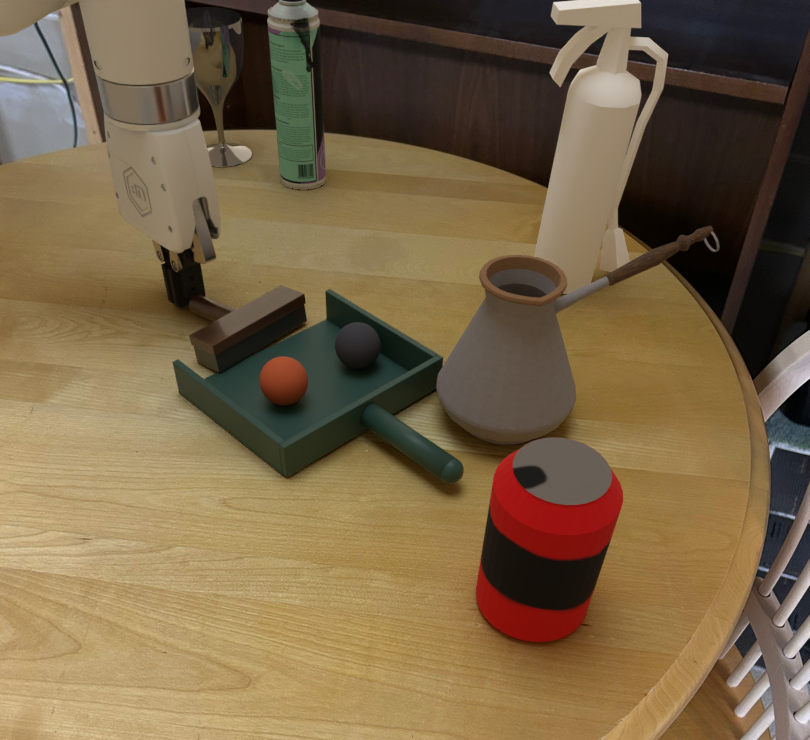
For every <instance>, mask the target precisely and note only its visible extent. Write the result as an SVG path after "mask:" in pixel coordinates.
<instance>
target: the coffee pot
mask: <svg viewBox="0 0 810 740" xmlns="http://www.w3.org/2000/svg"><path fill="white" fill-rule="evenodd" d="M710 235H711V236H712V237H713V239H714V241H715V246H716V249H714V248H713V247H712V246H711V245H710V244H709V241H708V239H707V238H708V237H709V236H710ZM702 241H703V242H704V245H706V247H707V248H708V249H709V251H710V252H713V253H716V252H719V251H720V241H719V238H718V236H717V235H716V233H715V232H714V227H713V226H712V225H707V226H703V227H700V228H697V229H696V230H694V232H693V233H691V234H688V235H685V234H680V235H679V236H678V237H677V239H676V241H673V242H670V243H667V244H663V245H660V246H658V247H654V248H651V249H650V250H648V251H646V252H644V253H642V254H641V255H639V256H637V257H635V258H634V259H632V260H630V262H628V263H627V264H625V265H623V266H621V267H619V268H618V269H616V270H614V271H612V272H609V273H607V274H605V275H604V276H603V277H601V278H599V279H597V280H595V281H593V282H592V281H591V283H590V284H588V285H586V286H584V287H582V288H579V289H577V290H575V291H573V292H571V293H569V294H563V293H564V291H565V289H566V287H567V278H566V275H565V274H564V272H563V271H562V270H561V269H560V268H559V267H558V266H556V265H555V264H553V263H551V262H549V261H547V260H544V259H541V258H538V257H534V255H528V254H507V255H502V256H497V257H494V258H492V259H489V260H488V261H487V262H486V263H484V264H483V266H482V267H481V269H480V271H479V275H478V279H479V281H480V284H481V286H482V288H483V289H484V294H485V297H484V299H483V300H482V302H481V304H480V305H479V307H478V308H477V310H476V312H475V313H474V315H473V316H472V318H471V320H470V321H469V323H468V325H467V326H466V328H465V329H464V331H463V333H462V335H461V336H460V338H459V339H458V341H457V342H456V344H455V345H454V347H453V349H452V350H451V352H450V354H449V356H448V357H447V359H446V360H445V362H443V367H442V368H441V370H440V372H439V373H438V377H437V384H436V389H435V390H436V393H437V396H438V399H439V402H440V404H441V407H442V408H443V410H444V412H445V413H446V414H447V416H448V417H449V418H450V420H452V421H453V422H454V423H456V424H457V425H458V426H459V427H461V428H462V429H463V430H464V431H466V432H467V433H468V434H470V435H471V436H473V437H475V438H476V439H479V440H481V441H484V442H487V443H492V444H496V445H497V444H498V445H506V446H508V445H519V444H523V443H527V442H531V441H533V440H534V439H535V440H536V439H538V438H541V437H543V436H545V435H547V434H549V433H550V432H553V431H555V430H557V428H558V427H559V426H560V425H561V424H562V423H563V422H564V421H565V420H566V419H567V418H568V417H569V416H570V414H572V411H573V409H574V407H575V404H576V401H577V389H576V383H575V379H574V375H573V371H572V367H571V363H570V361H569V360H570V359H569V356H568V353H567V349H566V346H565V345H566V344H565V341H564V338H563V334H562V330H561V326H560V323H559V319H558V315H557V314H558V313H560V312H562V311H564V310H566V309H567V308H569V307H571V306H573V305H575V304H577V303H579V302H581V301H582V300H585V299H586V298H588V297H590V296H592V295H595V293H598V292H600V291H602V290H604V289H605V288H607V287H611V286H613V285H616V284H618V283H620V282H623V281H625V280H627V279H629V278H632V277H634V276H637V275H639V274H641V273H644V272H646V271H648V270H650V269H653V268H655V267H657V266H660V265H661V264H662V263H664V262H665V261H666V260H668V259H669V258H671V257H672V256H674V255H675V254H677V253H678V252H680V251H681V252H687V251H689V249H690V247H691V245H692V244H695V243H697V242H702ZM561 295H563V296H561Z"/></svg>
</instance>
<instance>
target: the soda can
mask: <svg viewBox="0 0 810 740" xmlns="http://www.w3.org/2000/svg"><path fill="white" fill-rule="evenodd" d="M623 503H624V491H623V487H622V484H621V482H620V480H619V479H618V477H617V475H616V474H615V472H614V471H613V470H612V468H611V466H610V464H609V463H608V461H607V460H606V458H605V457H604V456H603V455H602V454H601V453H600V452H598V451H597V450H596V449H595V448H593V447H591V446H590V445H588V444H586V443H583V442H580V441H578V440H575V439H570V438H567V437H565V438H564V437H544V438H543V437H542V438H539V439H538V438H537V439H535V440H531V441H529V442H528V443H526V444H524V445H522V447H520V448H519V449H517V450H515V451H513V452H512V453H510V454H508V455H507V456H506V457H505V458H503V459H502V460H501V461H500V463H499V464H498V465H497V466H496V469H495V471H494V473H493V478H492V484H491V492H490V497H489V504H488V509H487V516H486V522H485V528H484V535H483V542H482V548H481V554H480V561H479V567H478V572H477V579H476V585H475V598H476V603H477V605H478V608H479V611H481V613H482V615H483V617H484V618H485V620H487V621H488V622H489V623H490V625H492V626H493V627H494V628H495V629H496V630H498V631H500V632H501V633H503V634H505V635H507V636H508V637H511V638H514V639H517V640H521V641H525V642H531V643H547V642H552V641H557V640H560V639H563V638H566V637H568V636H569V635H571V634H572V633H573V632H575V631H576V630H577V629H578V628H579V627H580V626H581V625H582V624H583V621H584V620H585V618H586V615H587V614H588V610H589V606H590V605H591V604H590V603H591V602H592V601H591V600H592V598H593V595H594V592H595V590H596V589H595V588H596V585H597V584H598V580H599V577H600V574H601V571H602V568H603V565H604V561H605V559H606V556H607V553H608V549H609V547H610V544H611V540H612V538H613V535H614V532H615V530H616V529H615V528H616V525H617V522H618V519H619V517H620V514H621V511H622V508H623V507H622V506H623Z"/></svg>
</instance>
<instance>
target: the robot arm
mask: <svg viewBox="0 0 810 740" xmlns="http://www.w3.org/2000/svg"><path fill="white" fill-rule="evenodd" d="M185 2H186V1H185V0H0V37H7V36H12V35H15V34H17V33H20V32H22V31H23V30H26V29H27V28H29V27H31V26H32V25H34V24H36V23H37V22H39V21H40V20H42V19H44V18H45V17H47V16H49V15H50V14H52V13H54V12H55V13H56V12H57V11H59V10H62V9H65V8H67V7H69V6H72V5H75V4H76V3H78V5H79V8H80V13H81V17H82V22H83V26H84V31H85V35H86V36H85V37H86V40H87V44H88V48H89V52H90V57H91V61H92V67H93V70H94V75H95V78H96V79H95V80H96V84H97V87H98V88H97V89H98V93H99V96H100V102H101V105H102V110H103V125H104V135H105V143H106V144H105V145H106V149H107V150H106V151H107V157H108V163H109V169H110V174H111V179H112V180H111V181H112V185H113V190H114V195H115V200H116V204H117V208H118V212H119V215H120V216H121V218H122V219H123V220H124V221H125V222H126V223H127V224H128V225H130V226H131V227H133V228H135V229H136V230H137V231H139V232H140V233H141V234H143V235H145V236H146V237H147V238H149V239H151V240H152V244H153V248H154V251H155V255H156V257H157V259H158V261H159V262H160V263H161V264H160V266H161V272H162V276H163V277H162V278H163V280H164V281H163V282H164V286H165V291H166V295H167V296H166V297H167V300H168V301H169V302H170V303H171V304H172V305H174V306H175V307H177V308H178V309H183V308H185V307H189V302H190V299H191V298H192V297H193V296H194V295H201V296H204V297H206V296H207V295H206V294H207V293H206V288H205V282H204V276H203V270H202V269H203V268H202V265H205V264H208V263H211V262H214V261H215V260H217V253H216V250H215V246H214V243H213V240H218V239H219V238H220V236H221V232H222V225H221V224H222V223H221V212H220V205H219V197H218V193H217V187H216V182H215V178H214V173H213V166H211V162H210V158H209V153H208V149H207V142H206V137H205V135H204V131H203V128H202V124H201V121H200V119H199V117H200V115H201V107H200V100H199V94H198V89H197V86H196V79H195V72H194V64H193V57H192V50H191V43H190V36H189V30H188V23H187V16H186V9H187V8H186V3H185Z"/></svg>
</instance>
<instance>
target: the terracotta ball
mask: <svg viewBox="0 0 810 740" xmlns="http://www.w3.org/2000/svg"><path fill="white" fill-rule="evenodd" d="M259 383H260V388H261V390H262V392H263V394H264V396H265V397H266V398H267V399H268V400H269V401H271V402H273V403H275V404H277V405H282V406H287V405H292V404H294V403H296V402H298V401H299V400H300V399H301V398H302V397H303V396H304V394H305V393H306V391H307V387H308V376H307V373H306V371H305V369H304V367H303V366H302V365H301V364H300V363H299V362H298V361H297V360H295V359H293V358H290V357H283V356H282V357H276V358H273V359H271V360H270V361H268V362H267V363H266V364H265V365H264V367H263V368H262V370H261V373H260V378H259Z"/></svg>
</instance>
